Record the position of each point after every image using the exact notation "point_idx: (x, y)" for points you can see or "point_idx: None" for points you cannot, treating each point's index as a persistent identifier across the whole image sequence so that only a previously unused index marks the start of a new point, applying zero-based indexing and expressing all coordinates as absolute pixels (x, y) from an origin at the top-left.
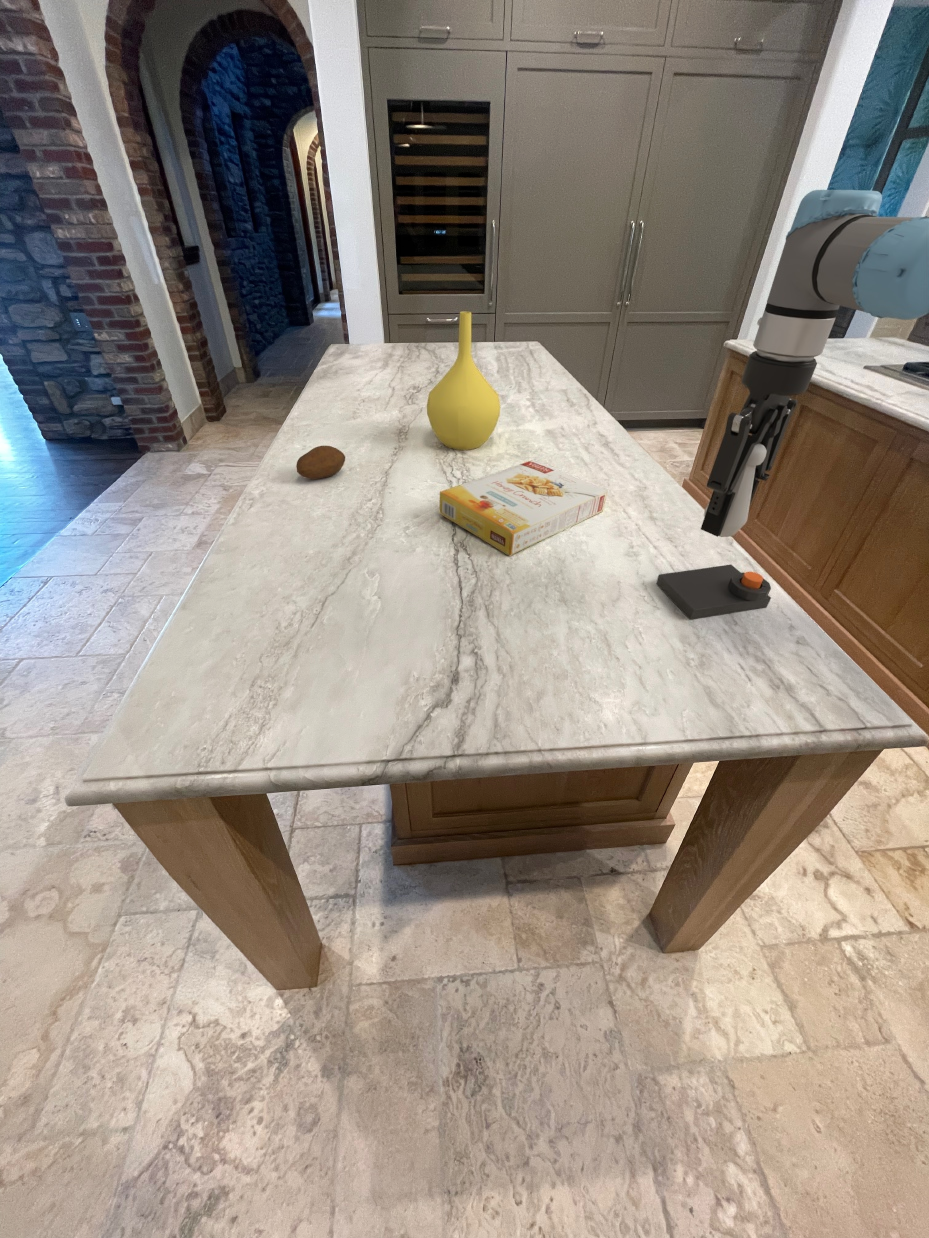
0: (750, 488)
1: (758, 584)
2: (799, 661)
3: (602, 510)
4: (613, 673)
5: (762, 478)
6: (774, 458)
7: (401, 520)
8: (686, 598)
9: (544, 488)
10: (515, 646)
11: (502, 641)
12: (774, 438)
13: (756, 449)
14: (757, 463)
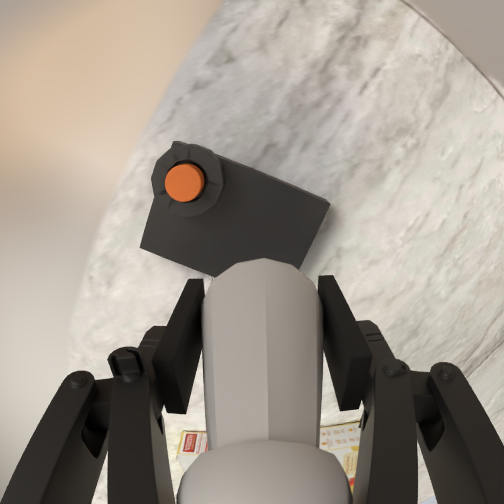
0: (269, 350)
1: (190, 165)
2: (275, 37)
3: (184, 432)
4: (484, 202)
5: (145, 363)
6: (54, 405)
7: None
8: (309, 231)
9: None
10: (500, 297)
11: (500, 309)
12: (57, 498)
13: None
14: (299, 451)
